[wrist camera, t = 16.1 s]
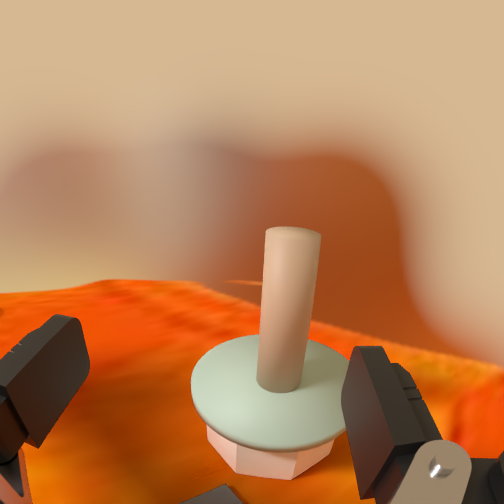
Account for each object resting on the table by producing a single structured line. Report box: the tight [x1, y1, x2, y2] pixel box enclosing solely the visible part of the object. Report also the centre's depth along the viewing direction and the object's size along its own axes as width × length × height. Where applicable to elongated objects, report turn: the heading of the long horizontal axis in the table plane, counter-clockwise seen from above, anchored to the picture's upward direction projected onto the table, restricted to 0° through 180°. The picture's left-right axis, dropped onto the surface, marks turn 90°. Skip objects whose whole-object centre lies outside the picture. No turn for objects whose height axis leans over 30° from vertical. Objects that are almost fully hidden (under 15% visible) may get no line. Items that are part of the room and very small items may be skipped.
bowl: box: [207, 425, 335, 480], centre depth 26 cm, size 11×11×6 cm
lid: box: [191, 227, 349, 453], centre depth 23 cm, size 14×14×13 cm
